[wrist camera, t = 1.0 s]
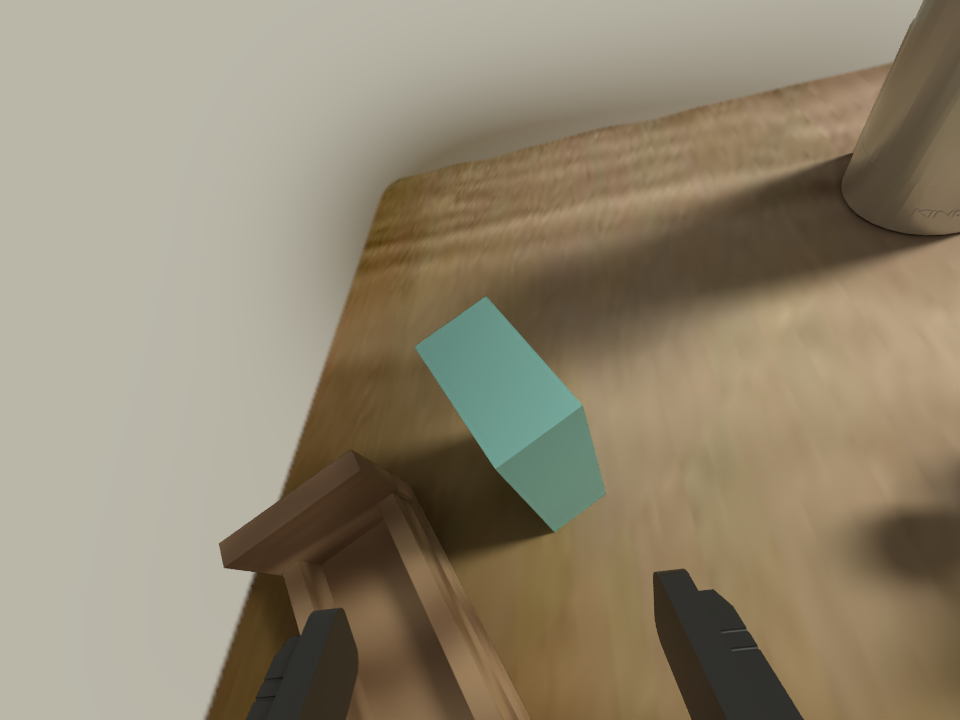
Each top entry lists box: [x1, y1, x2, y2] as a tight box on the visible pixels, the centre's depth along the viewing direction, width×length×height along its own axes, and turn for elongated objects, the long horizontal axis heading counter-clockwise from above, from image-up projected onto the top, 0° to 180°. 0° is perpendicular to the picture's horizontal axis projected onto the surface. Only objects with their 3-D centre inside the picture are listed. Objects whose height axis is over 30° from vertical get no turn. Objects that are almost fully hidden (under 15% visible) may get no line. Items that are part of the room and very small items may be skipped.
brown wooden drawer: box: [219, 450, 531, 720], centre depth 24 cm, size 18×9×8 cm, turn 32°
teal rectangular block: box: [415, 296, 606, 532], centre depth 25 cm, size 7×4×14 cm, turn 32°
